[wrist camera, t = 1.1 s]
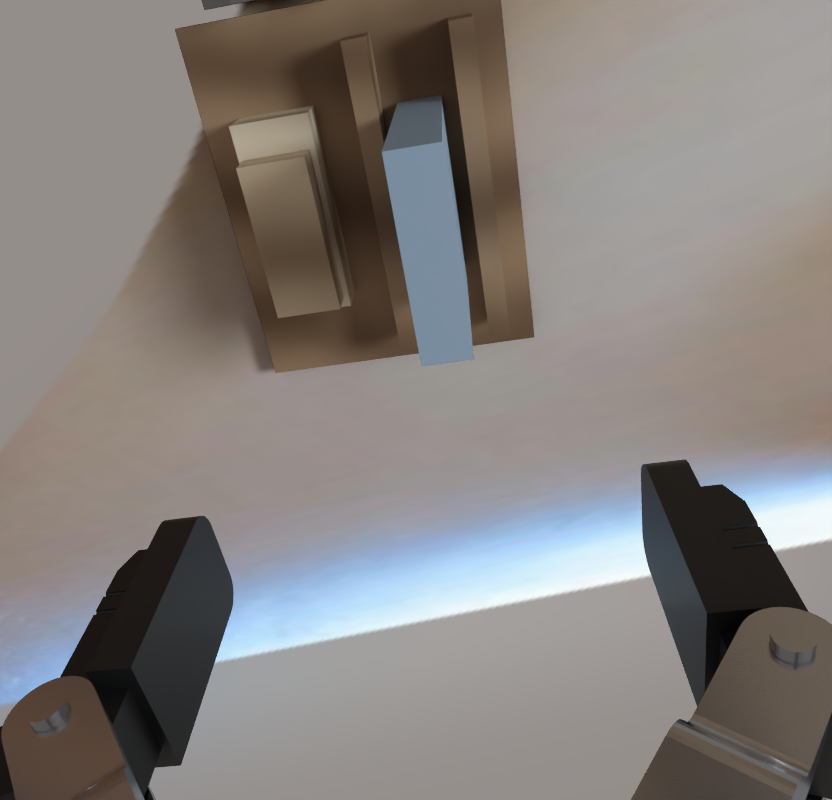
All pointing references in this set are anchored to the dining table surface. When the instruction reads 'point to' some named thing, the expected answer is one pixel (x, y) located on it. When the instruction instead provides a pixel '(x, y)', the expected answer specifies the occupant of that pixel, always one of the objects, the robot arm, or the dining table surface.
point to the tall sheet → (429, 229)
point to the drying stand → (220, 3)
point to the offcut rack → (373, 154)
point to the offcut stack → (293, 211)
